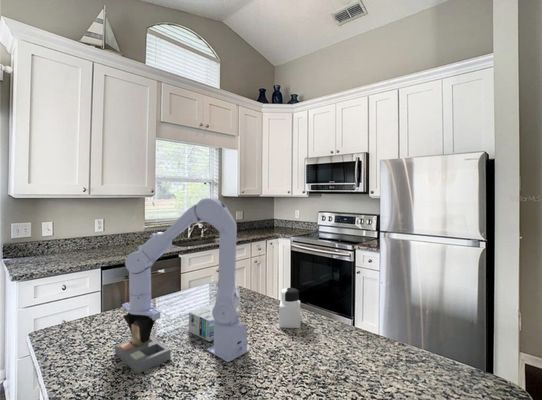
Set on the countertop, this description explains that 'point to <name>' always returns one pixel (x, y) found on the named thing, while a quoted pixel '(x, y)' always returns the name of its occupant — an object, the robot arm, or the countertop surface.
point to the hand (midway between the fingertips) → (140, 339)
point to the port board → (148, 351)
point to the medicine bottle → (289, 308)
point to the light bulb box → (202, 322)
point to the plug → (137, 336)
